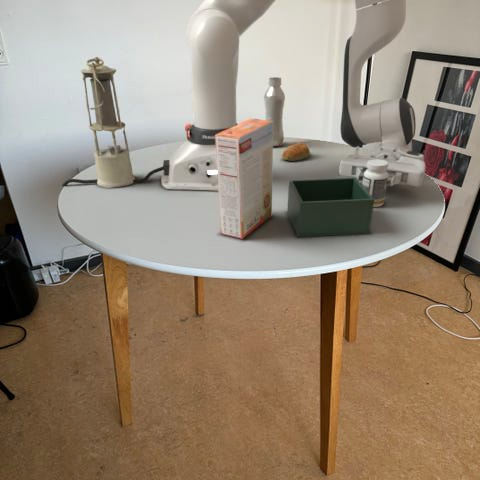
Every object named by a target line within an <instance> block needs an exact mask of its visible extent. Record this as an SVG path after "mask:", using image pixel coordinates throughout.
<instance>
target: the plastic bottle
mask: <svg viewBox="0 0 480 480" xmlns="http://www.w3.org/2000/svg"><path fill="white" fill-rule="evenodd" d="M268 86H269V87H268V88H267V89H266V91H265V93H264V96H263V101H264V111H265V120H267V121H273V147H278V146H282V144H283V143H284V139H285V134H284V123H283V118H284V117H283V115H284V107H285V101H286V96H285V92H284V91H283V89H282V87H281V86H282V77H277V76H275V77H269V78H268Z"/></svg>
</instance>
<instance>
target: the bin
mask: <svg viewBox="0 0 480 480" xmlns="http://www.w3.org/2000/svg"><path fill="white" fill-rule="evenodd" d="M287 189H288V191H287V192H288V193H287V208H286V209H287V211H286V213H287V215H288V217H289V219H290V221H291V224H292V226H293V228H294V231H295V233H296V236H297V238H308V237H328V236H329V237H331V236H348V235H349V236H350V235H369V234H370V230H371V222H372V216H373V211H374V207H373V206H374V199H373V197H372V196H371V195H370V194H369V193H368V192H367V190H366V189H365V188H364V187H363V186H362V183H361V181H358V180H357V178H354V177H339V178H338V177H337V178H313V179H312V178H311V179H290V180H288V188H287Z"/></svg>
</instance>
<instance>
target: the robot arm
mask: <svg viewBox="0 0 480 480" xmlns="http://www.w3.org/2000/svg"><path fill="white" fill-rule="evenodd" d="M275 2H276V0H203V1H202V2H201V4H200V5H199V6H198V8H197V9H196V10H195V11H194V13H193V14H192V15H191V16H190V18H189V19H188V21H187V25H186V31H185V36H186V37H185V38H186V41H187V45H188V47H189V50H190V64H191V101H192V116H193V118H192V119H193V124H191V123H190V122H189V123H186V124H185V126H184V131H185V132H186V141H185V142H184V143H182V145H180V146H179V147H178V148H177V149H176V150H175V151H174V152H173V153H172V154H171V156H170V157H169V159H163V161H162V163H163V164H162V166H159V167H158V168H154V169H153V170H151V171H149V172H148V173H147V174H146V176H144V177H143V178H139V179H135V180H133V183H132V184H141V183H145V182H146V181H148V180H149V179H150V178H151V177H152V176H153V175H154V174H156V173H159V172H162V171H163V172H162V175H161V181H160V183H161V186H162V187H163V188H164V189H166V190H181V191H182V190H187V191H218V178H217V161H216V144H215V135H216V134H218V133H220V132H222V131H225V130H227V129H229V128H231V127H234V126H236V125H238V124H239V123H238V122H237V83H238V71H239V60H240V59H239V57H240V37H241V36H242V35H243V34H244V33H245V32H246V31H247V30H248V29H249V28H251V26H252V25H254V23H256V21H258V20H259V19H260V18H261V17H263V16H264V15H265V14H266V12H267V11H268V10H269V9H270V8H271V6H272V5H273V4H274V3H275ZM354 5H355V24H354V29H353V32H352V34H351V36H350V37H348V39H347V40H346V43H345V48H344V54H343V55H344V56H343V72H342V73H343V74H342V75H343V76H342V107H341V118H340V129H339V130H340V136H341V140H342V141H343V142H344V143H345V144H347V145H348V146H350V147H352V148H358V147H362V146H366V145H368V144H375V143H380V144H379V145H378V147H377V148H375V150H374V151H373V153H372V154H371V155H370V156H367V155H360V154H351V155H347V156H345V157H343V159H341V160H340V162H339V167H338V174H339V175H340V176H342V177H346V178H356V179H357V180H358V181H359V182H360V183H361V182H362V183H363V175H364V172H365V171H366V170H368V168H367V162H368V161H369V160H375V159H378V160H384V161H387V162H388V168H387V170H386V172H387V173H388V178H387V183H386V185H387V187H388V186H390V187H393V186H394V185H397V184H398V185H404V186H412V187H420V186H422V185H423V181H424V177H425V173H426V163H425V155H424V154H423V153H418V152H415V151H413V139H414V137H415V135H416V126H417V125H416V123H417V122H416V113H415V110H414V107H413V105H412V104H411V103H410V102H408V100H407V99H405V98H403V97H399V98H398V97H397V98H392V99H388V100H383V101H380V102H375V103H369V104H361V86H362V85H361V83H362V70H363V67H364V65H365V64H366V62H367V61H368V60H369V59H370V58H371V57H372V56H374V55H375V54H376V53H378V52H379V51H381V50H382V49H384V48H385V47H386V46H387V45H389V44H390V43H392V42H393V41H394V40H395V39H396V38H397V37H398V35H399V34H400V33H401V31H402V29H403V28H404V25H405V22H406V18H407V17H406V16H407V15H406V13H407V0H354ZM97 181H98V178H97V179H79V178H68V179H67V180H65V181H63V182H62V184H61V187H66V186H67V185H68V184H70V183H78V184H97Z"/></svg>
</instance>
